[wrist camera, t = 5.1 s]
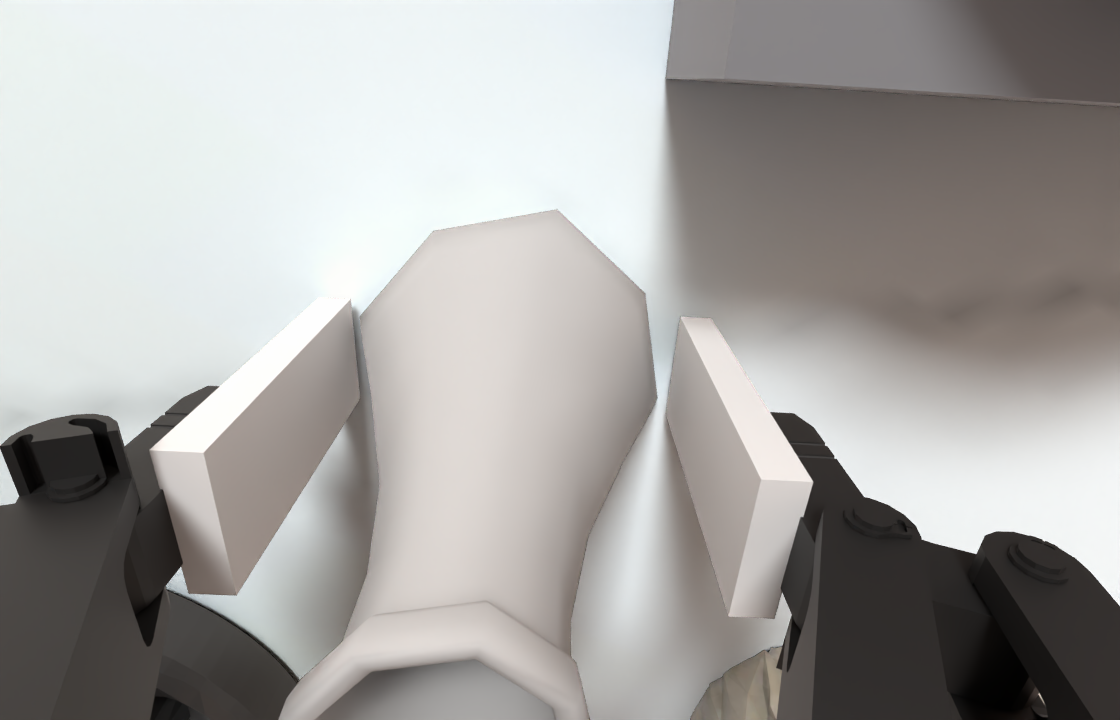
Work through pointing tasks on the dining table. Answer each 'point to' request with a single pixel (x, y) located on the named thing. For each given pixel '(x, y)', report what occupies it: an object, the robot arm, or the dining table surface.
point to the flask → (487, 473)
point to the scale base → (906, 46)
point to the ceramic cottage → (745, 691)
